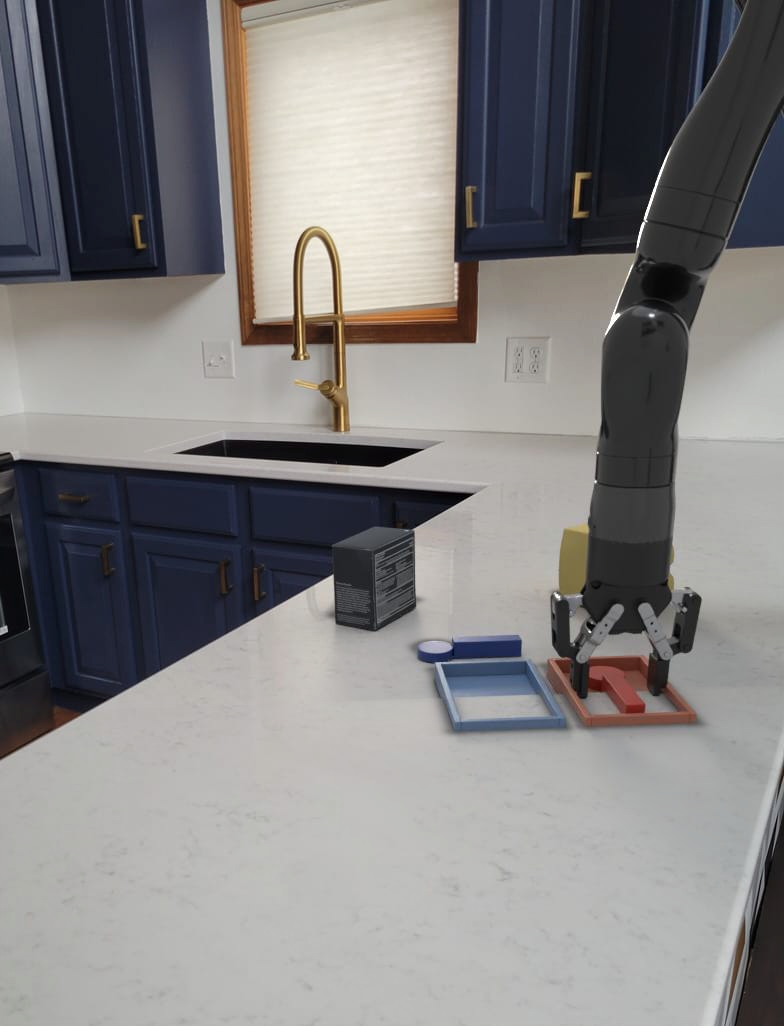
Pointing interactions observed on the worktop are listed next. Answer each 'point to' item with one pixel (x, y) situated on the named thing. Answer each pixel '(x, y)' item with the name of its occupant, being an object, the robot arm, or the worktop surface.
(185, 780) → the worktop surface
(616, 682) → the red spoon
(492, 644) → the blue spoon
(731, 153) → the robot arm
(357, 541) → the small box
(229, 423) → the worktop surface
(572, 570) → the cheese
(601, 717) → the red tray
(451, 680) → the blue tray
